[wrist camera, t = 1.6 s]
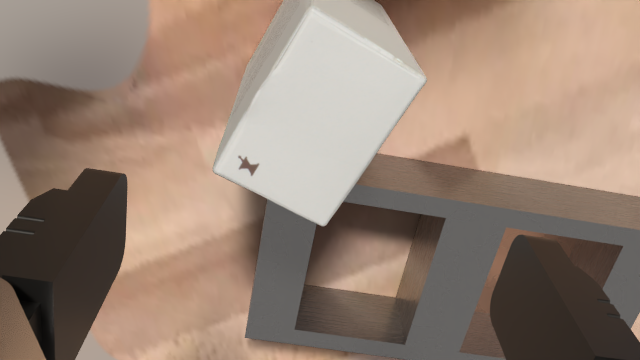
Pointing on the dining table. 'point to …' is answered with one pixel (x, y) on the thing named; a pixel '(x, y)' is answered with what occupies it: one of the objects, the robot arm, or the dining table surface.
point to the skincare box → (317, 104)
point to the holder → (441, 261)
